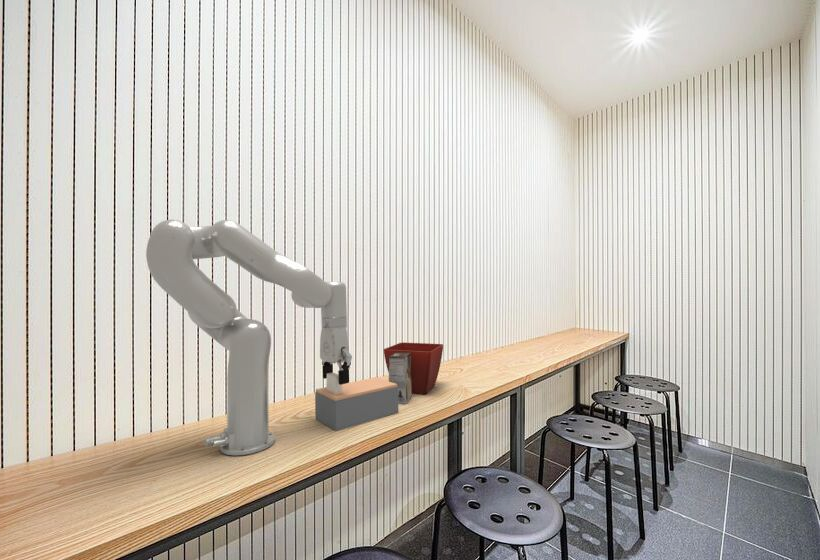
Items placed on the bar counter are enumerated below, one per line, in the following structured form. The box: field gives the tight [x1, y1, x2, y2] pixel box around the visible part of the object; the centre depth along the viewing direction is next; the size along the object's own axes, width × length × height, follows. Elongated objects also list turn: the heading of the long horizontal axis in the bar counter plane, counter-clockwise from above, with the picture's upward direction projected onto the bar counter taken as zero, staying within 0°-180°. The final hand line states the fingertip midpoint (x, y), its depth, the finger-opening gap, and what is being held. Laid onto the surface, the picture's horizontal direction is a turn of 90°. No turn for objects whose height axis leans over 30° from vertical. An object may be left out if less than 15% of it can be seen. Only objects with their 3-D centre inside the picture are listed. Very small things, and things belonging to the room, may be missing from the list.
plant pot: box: [383, 341, 444, 395], centre depth 139 cm, size 19×19×17 cm
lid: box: [315, 372, 397, 401], centre depth 110 cm, size 22×12×6 cm, turn 130°
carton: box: [314, 387, 399, 432], centre depth 110 cm, size 22×13×8 cm, turn 130°
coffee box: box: [388, 353, 413, 405], centre depth 125 cm, size 9×6×16 cm
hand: (335, 380), depth 105 cm, fingers open, 9 cm apart
